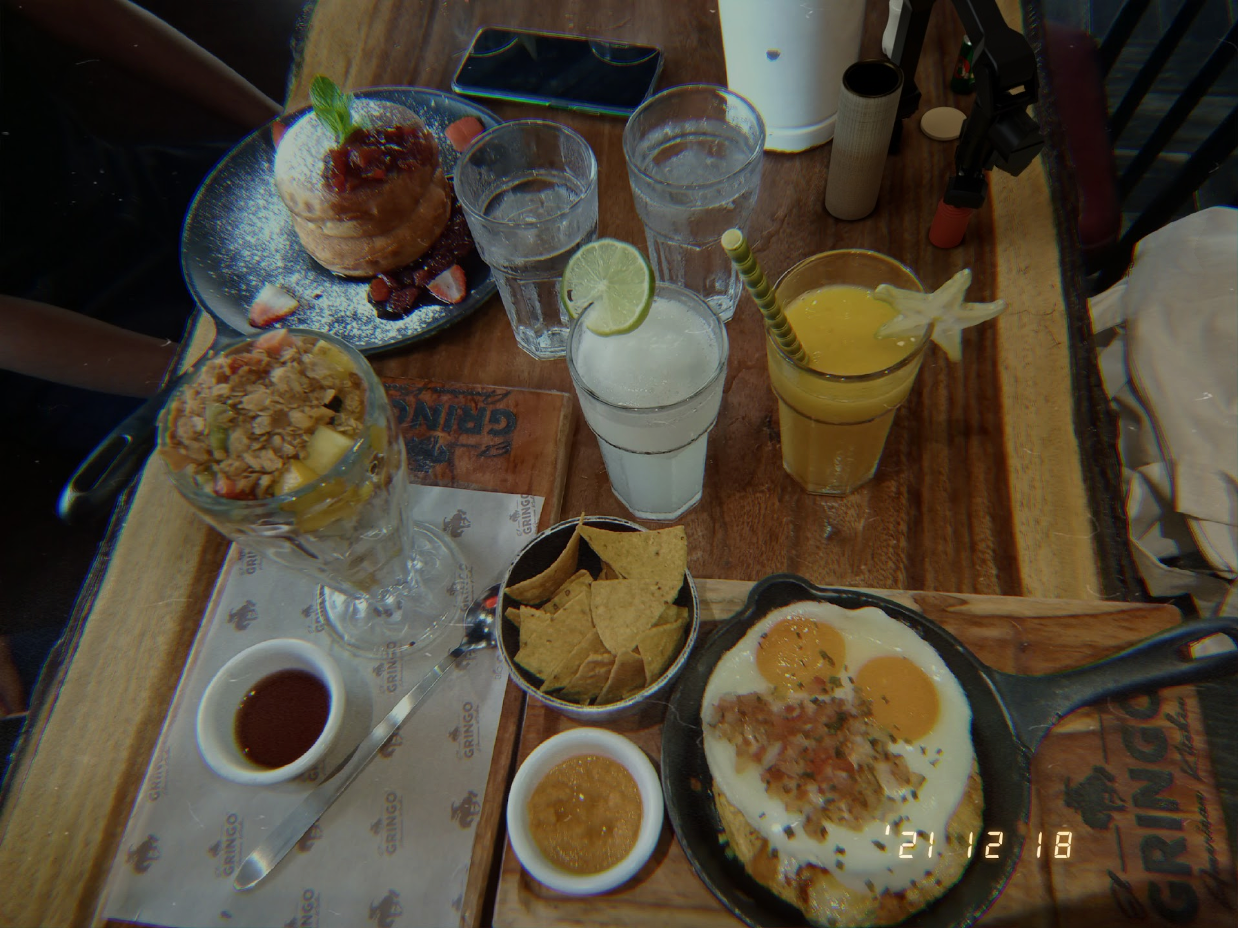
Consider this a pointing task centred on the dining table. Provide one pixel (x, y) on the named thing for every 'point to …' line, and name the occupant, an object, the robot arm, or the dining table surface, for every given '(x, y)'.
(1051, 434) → the dining table surface
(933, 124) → the coaster
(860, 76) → the vase
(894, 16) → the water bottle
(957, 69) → the soda can
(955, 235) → the sauce bottle
